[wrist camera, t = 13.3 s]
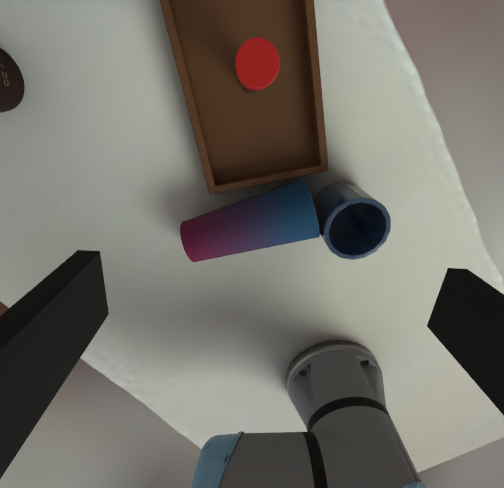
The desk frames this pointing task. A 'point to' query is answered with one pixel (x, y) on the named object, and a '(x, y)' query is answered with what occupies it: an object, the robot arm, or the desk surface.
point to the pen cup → (351, 220)
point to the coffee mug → (10, 83)
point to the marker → (256, 64)
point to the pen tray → (250, 104)
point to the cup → (252, 224)
